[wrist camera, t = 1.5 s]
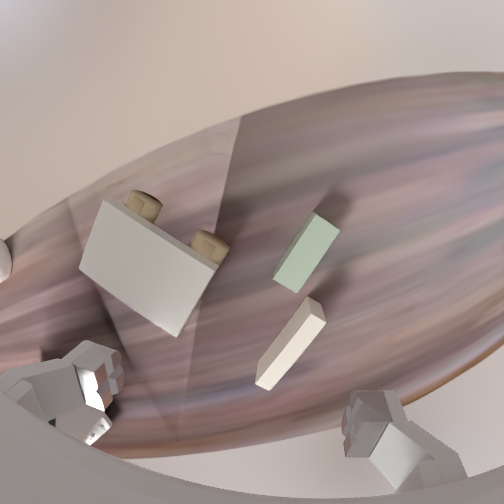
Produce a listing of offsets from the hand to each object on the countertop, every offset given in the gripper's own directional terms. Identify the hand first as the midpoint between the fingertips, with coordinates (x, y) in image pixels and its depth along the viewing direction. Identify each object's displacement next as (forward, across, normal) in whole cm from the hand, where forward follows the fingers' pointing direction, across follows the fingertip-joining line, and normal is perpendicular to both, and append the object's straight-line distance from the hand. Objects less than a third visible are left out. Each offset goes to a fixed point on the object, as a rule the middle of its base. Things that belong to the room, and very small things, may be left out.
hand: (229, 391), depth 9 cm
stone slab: (+20, +14, +3) cm, 25 cm away
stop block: (+25, -3, +12) cm, 28 cm away
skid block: (+25, -3, 0) cm, 26 cm away
